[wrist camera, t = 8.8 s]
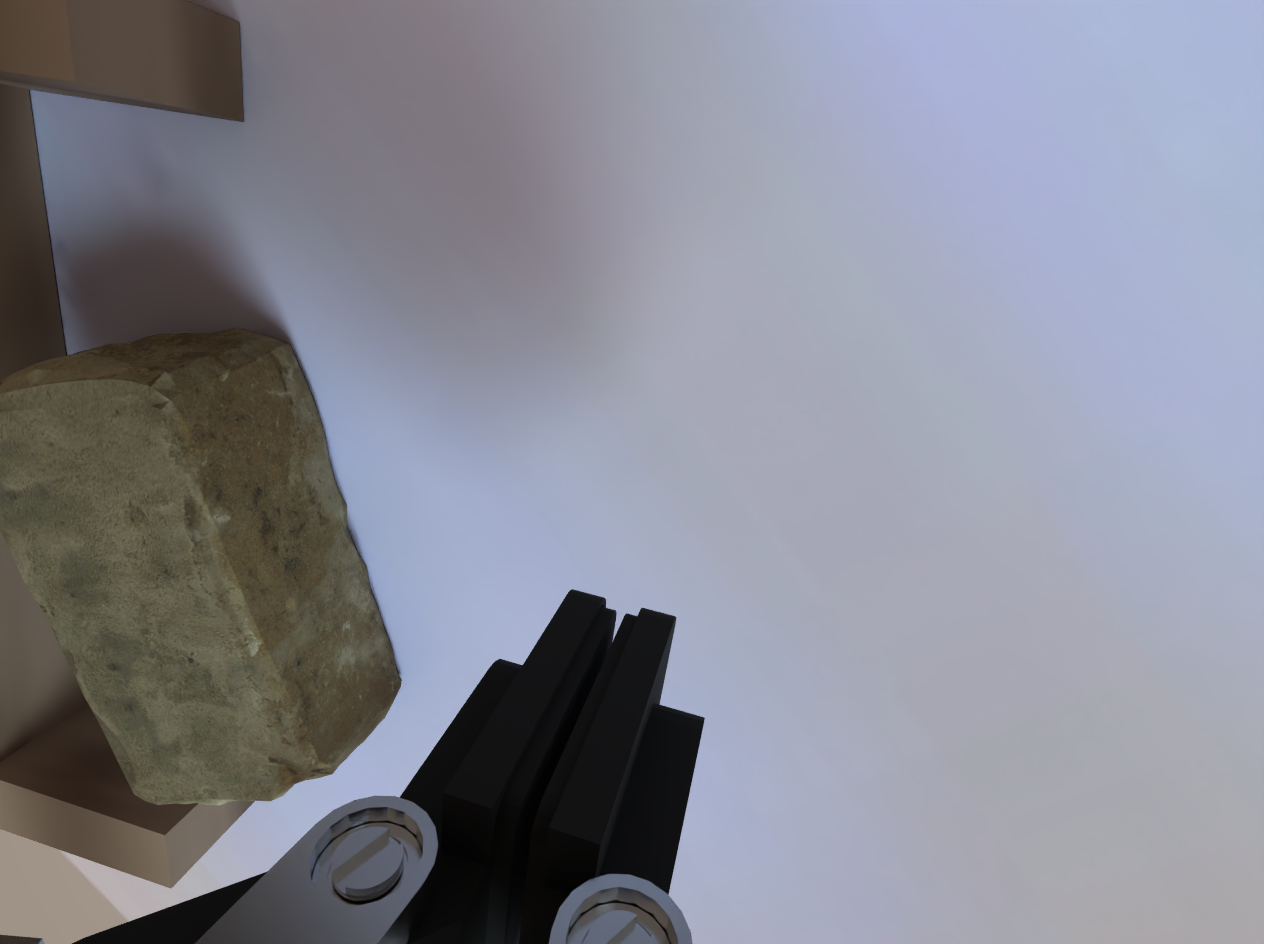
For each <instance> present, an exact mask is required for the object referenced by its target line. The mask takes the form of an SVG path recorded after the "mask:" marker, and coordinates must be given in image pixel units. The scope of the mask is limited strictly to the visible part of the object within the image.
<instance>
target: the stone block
mask: <svg viewBox="0 0 1264 944" xmlns="http://www.w3.org/2000/svg"><path fill="white" fill-rule="evenodd" d="M0 531H1V533H2V535H3V537H4V539H5V541H6V542H7V544H8V546H9V548H10V550H11V552H12V554H13V557H14V559H15V562H16V564H17V566H18V569H19V571H20V574H21V576H22V579H23V581H24V582H25V584H26V585H27V587H28V589H29V590H30V592H31V593H32V595H33V596H34V598H35V599H36V601H37V602H38V604H39V606H40V608H41V609H42V611H43V613H44V615H45V616H46V618H47V620H48V622H49V624H50V626H51V628H52V630H53V632H54V634H55V636H56V639H57V641H58V643H59V646H60V648H61V651H62V653H63V654H64V656H65V658H66V660H67V662H68V664H69V665H70V667H71V669H72V671H73V673H74V675H75V677H76V679H77V681H78V684H79V686H80V688H81V691H82V693H83V695H84V697H85V699H86V701H87V702H88V704H89V706H90V708H91V709H92V711H93V713H94V715H95V716H96V718H97V720H98V722H99V724H100V726H101V728H102V730H103V732H104V734H105V736H106V738H107V740H108V742H109V744H110V746H111V748H112V751H113V753H114V755H115V757H116V759H117V761H118V763H119V765H120V767H121V769H122V771H123V773H124V775H125V777H126V779H127V781H128V783H129V785H130V787H131V789H132V791H133V793H134V794H135V795H136V796H138V797H139V798H141V799H143V800H144V801H147V802H150V803H153V804H156V805H163V804H173V803H177V804H191V803H200V804H206V805H217V806H219V805H222V804H225V803H228V802H231V801H256V800H257V801H272V800H274V799H276V798H279V797H281V796H283V795H284V794H285V793H286V792H287V791H288V790H289V789H290V788H291V787H292V786H293V785H294V784H296V783H299V782H301V781H304V780H309V779H315V778H320V777H324V776H327V775H331V774H333V773H334V771H335V770H336V769H337V767H338V766H339V765H340V764H341V763H342V762H343V761H344V760H345V759H347V757H348V756H349V755H350V754H351V753H352V752H353V751H354V750H355V749H356V748H357V747H358V746H359V745H360V744H361V743H363V742H364V741H365V740H366V738H367V737H368V736H369V735H370V734H371V733H372V732H373V730H374V729H375V728H376V726H377V725H378V724H379V723H380V722H381V721H382V720H383V719H384V718H385V716H386V714H387V712H388V711H389V709H390V707H391V705H392V703H393V701H394V699H395V697H396V695H397V693H398V691H399V689H400V687H401V681H402V680H401V678H400V676H399V674H398V672H397V670H396V665H395V660H394V654H393V649H392V647H391V644H390V642H389V639H388V637H387V634H386V631H385V629H384V625H383V622H382V619H381V616H380V613H379V610H378V607H377V605H376V602H375V600H374V597H373V595H372V592H371V589H370V583H369V578H368V572H367V568H366V566H365V564H364V562H363V561H362V559H361V557H360V555H359V554H358V552H357V550H356V548H355V546H354V543H353V541H352V538H351V536H350V533H349V531H348V528H347V504H346V502H345V500H344V498H343V496H342V494H341V492H340V490H339V488H338V486H337V484H336V483H335V479H334V476H333V472H332V468H331V464H330V461H329V456H328V450H327V444H326V439H325V435H324V431H323V428H322V424H321V421H320V417H319V414H318V411H317V408H316V406H315V403H314V400H313V397H312V395H311V392H310V389H309V387H308V385H307V382H306V380H305V378H304V376H303V373H302V371H301V369H300V367H299V364H298V362H297V360H296V357H295V355H294V353H293V350H292V348H291V346H290V345H289V344H287V343H284V342H282V341H280V340H278V339H276V338H272V337H269V336H265V335H262V334H258V333H254V332H251V331H248V330H244V329H241V328H237V329H232V330H227V331H221V332H216V333H203V334H189V333H183V334H162V335H153V336H150V337H146V338H143V339H140V340H137V341H135V342H132V343H130V344H109V345H106V346H102V347H99V348H95V349H90V350H86V351H82V352H78V353H75V354H73V355H67V356H62V357H57V358H52V359H48V360H46V361H43V362H40V363H37V364H34V365H32V366H29V367H27V368H24V369H22V370H20V371H17V372H15V373H13V374H11V375H9V376H7V377H6V378H4V379H2V381H1V382H0Z"/></svg>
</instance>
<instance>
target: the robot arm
mask: <svg viewBox="0 0 1264 944" xmlns="http://www.w3.org/2000/svg"><path fill="white" fill-rule="evenodd" d="M615 621H616V611H615V610H612V609H608V608H606V599H605V598H603V597H600V596H596V595H592V594H588V593H584V592H581V591H577V590H573V589H572V590H570V591H569V592H568V594H567V595H566V597H565V599H564V600H563V602H562V603H561V605H560V607H559V608H558V610H557V611H556V613H555V615H554V616H553V618H552V619H551V621H550V623H549V624H548V626H547V627H546V629H545V631H544V632H543V634H542V635H541V637H540V639H539V640H538V642H537V643H536V645H535V647H534V648H533V650H532V651H531V653H530V655H529V656H528V658H527V659H526V661H525V663H524V664H523V665H519V664H516V663H512V662H509V661H505V660H502V659H499V660H497V661H495V662H494V663H493V664H492V666H491V667H490V668H489V669H488V671H487V672H486V674H485V675H484V677H483V678H482V679H481V681H480V682H479V684H478V685H477V687H476V688H475V690H474V691H473V692H472V694H471V695H470V697H469V698H468V700H467V701H466V703H465V704H464V705H463V707H462V708H461V710H460V711H459V713H458V714H457V715H456V717H455V718H454V720H453V721H452V723H451V724H450V726H449V727H448V728H447V730H446V731H445V733H444V734H443V736H442V737H441V739H440V740H439V741H438V743H437V744H436V746H435V747H434V749H433V750H432V752H431V753H430V754H429V756H428V757H427V759H426V760H425V762H424V763H423V765H422V766H421V767H420V769H419V770H418V772H417V773H416V775H415V776H414V777H413V779H412V780H411V782H410V783H409V785H408V786H407V788H406V789H405V790H404V792H403V793H402V795H401V796H400V798H399V797H396V796H372V797H367V798H362V799H358V800H354V801H352V802H350V803H347V804H345V805H343V806H341V807H339V808H337V809H335V810H333V811H332V812H331V813H329V814H328V815H327V816H325V817H324V818H323V819H322V820H320V821H319V822H318V823H316V824H315V825H314V826H313V827H312V828H311V829H310V830H309V831H308V832H307V833H306V834H305V835H304V836H303V837H302V838H301V839H300V840H299V841H298V842H297V843H296V844H295V845H294V846H293V847H292V848H291V849H290V850H289V851H288V852H287V853H286V854H285V855H284V856H283V857H282V858H281V859H280V860H279V861H278V862H277V863H276V864H275V865H274V866H273V867H272V868H271V869H270V870H269V871H268V872H265V873H262V874H260V875H257V876H254V877H251V878H249V879H246V880H243V881H240V882H238V883H235V884H232V885H229V886H226V887H224V888H221V889H218V890H215V891H213V892H210V893H207V894H204V895H202V896H199V897H196V898H193V899H191V900H188V901H185V902H182V903H179V904H177V905H174V906H171V907H168V908H166V909H163V910H160V911H157V912H155V913H152V914H149V915H146V916H143V917H141V918H138V919H135V920H132V921H130V922H127V923H124V924H121V925H119V926H116V927H113V928H110V929H108V930H105V931H102V932H99V933H96V934H94V935H91V936H89V937H85V938H83V939H81V940H79V941H77V942H74V943H72V944H692V937H691V932H690V929H689V927H688V925H687V923H686V920H685V918H684V916H683V913H682V911H681V910H680V909H679V908H678V906H677V905H676V904H675V903H674V901H673V900H672V899H671V898H670V897H669V895H668V894H669V889H670V884H671V879H672V875H673V870H674V865H675V860H676V855H677V850H678V845H679V841H680V836H681V831H682V826H683V821H684V816H685V811H686V807H687V802H688V797H689V792H690V787H691V782H692V778H693V773H694V768H695V763H696V758H697V753H698V748H699V744H700V739H701V734H702V729H703V724H704V719H705V718H704V717H700V716H697V715H693V714H690V713H686V712H683V711H679V710H676V709H672V708H669V707H666V706H662V705H659V704H660V699H661V694H662V689H663V684H664V679H665V674H666V669H667V664H668V659H669V654H670V649H671V643H672V638H673V633H674V628H675V623H676V617H675V616H672V615H668V614H664V613H660V612H656V611H653V610H649V609H645V608H641V610H640V612H639V614H638V616H634V615H630V614H625V616H624V618H623V620H622V623H621V625H620V627H619V629H618V631H617V634H616V636H615V638H614V640H613V634H614V628H615ZM612 641H613V642H612ZM0 944H44V942H43V939H42V938H31V937H19V936H8V935H0Z"/></svg>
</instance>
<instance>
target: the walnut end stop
mask: <svg viewBox="0 0 1264 944" xmlns="http://www.w3.org/2000/svg"><path fill="white" fill-rule="evenodd" d="M29 89H30V90H36V91H43V92H49V93H56V94H63V95H69V96H76V97H82V98H89V99H95V100H102V101H109V102H115V103H122V104H128V105H135V106H142V107H148V108H155V109H161V110H168V111H174V112H181V113H188V114H194V115H201V116H207V117H214V118H221V119H227V120H234V121H240V122H244V116H243V93H242V70H241V47H240V24H239V22H237V21H234V20H232V19H230V18H227V17H225V16H223V15H220V14H218V13H215V12H213V11H211V10H208V9H206V8H203V7H201V6H199V5H196V4H194V3H192V2H189V1H187V0H0V382H1V381H2V379H4V378H6V377H7V376H9V375H11V374H13V373H15V372H17V371H20V370H22V369H24V368H27V367H29V366H32V365H34V364H37V363H40V362H43V361H46V360H48V359H52V358H57V357H62V356H66V351H65V344H64V337H63V330H62V323H61V316H60V308H59V301H58V294H57V287H56V280H55V273H54V266H53V259H52V251H51V244H50V237H49V230H48V223H47V216H46V209H45V202H44V195H43V187H42V180H41V173H40V166H39V159H38V152H37V145H36V138H35V131H34V123H33V116H32V109H31V102H30V95H29ZM253 802H254V801H231V802H228V803H225V804H222V805H219V806H217V805H206V804H200V803H191V804H177V803H173V804H163V805H156V804H153V803H150V802H147V801H144V800H143V799H141V798H139V797H138V796H136V795H135V794H134V793H133V791H132V789H131V787H130V785H129V783H128V781H127V779H126V777H125V775H124V773H123V771H122V769H121V767H120V765H119V763H118V761H117V759H116V757H115V755H114V753H113V751H112V748H111V746H110V744H109V742H108V740H107V738H106V736H105V734H104V732H103V730H102V728H101V726H100V724H99V722H98V720H97V718H96V716H95V715H94V713H93V711H92V709H91V708H90V706H89V704H88V702H87V701H86V699H85V697H84V695H83V693H82V691H81V688H80V686H79V684H78V681H77V679H76V677H75V675H74V673H73V671H72V669H71V667H70V665H69V664H68V662H67V660H66V658H65V656H64V654H63V653H62V651H61V648H60V646H59V643H58V641H57V639H56V636H55V634H54V632H53V630H52V628H51V626H50V624H49V622H48V620H47V618H46V616H45V615H44V613H43V611H42V609H41V608H40V606H39V604H38V602H37V601H36V599H35V598H34V596H33V595H32V593H31V592H30V590H29V589H28V587H27V585H26V584H25V582H24V581H23V579H22V576H21V574H20V571H19V569H18V566H17V564H16V562H15V559H14V557H13V554H12V552H11V550H10V548H9V546H8V544H7V542H6V541H5V539H4V537H3V535H2V533H1V531H0V829H2V830H5V831H8V832H11V833H13V834H17V835H19V836H22V837H25V838H28V839H31V840H34V841H37V842H39V843H42V844H45V845H48V846H51V847H54V848H56V849H59V850H62V851H65V852H68V853H71V854H74V855H77V856H79V857H82V858H85V859H88V860H91V861H94V862H97V863H100V864H102V865H105V866H108V867H111V868H114V869H117V870H120V871H122V872H125V873H128V874H131V875H134V876H137V877H140V878H143V879H145V880H148V881H151V882H154V883H157V884H160V885H163V886H165V887H168V888H172V887H173V886H174V885H175V884H176V883H177V882H178V881H179V880H180V879H181V878H182V877H183V876H184V875H185V874H186V872H187V871H188V870H189V869H190V868H191V867H192V866H193V865H194V864H195V863H196V862H197V861H198V860H199V859H200V858H201V857H202V856H203V855H204V854H205V853H206V852H207V851H208V849H209V848H210V847H211V846H212V845H213V844H214V843H215V842H216V841H217V840H218V839H219V838H220V837H221V836H222V835H223V834H224V833H225V832H226V831H227V830H228V829H229V828H230V826H231V825H232V824H233V823H234V822H235V821H236V820H237V819H238V818H239V817H240V816H241V815H242V814H243V813H244V812H245V811H246V810H247V809H248V808H249V807H250V806H251V805H252V803H253Z"/></svg>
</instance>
